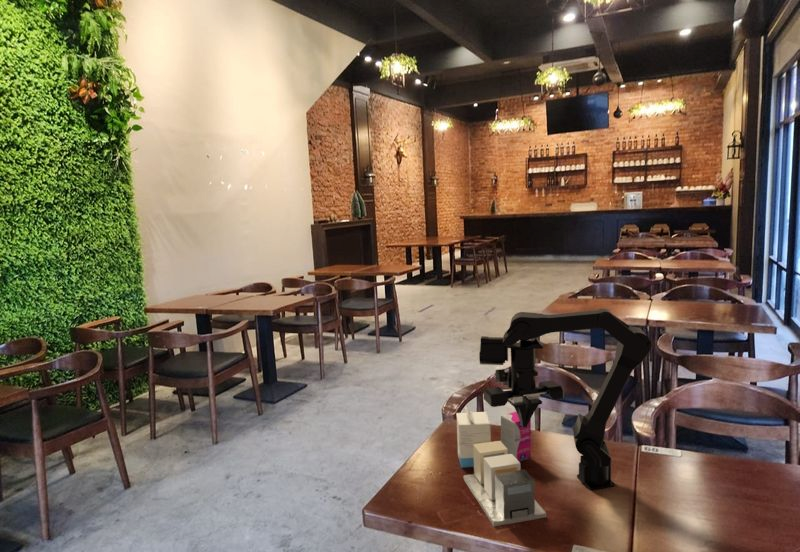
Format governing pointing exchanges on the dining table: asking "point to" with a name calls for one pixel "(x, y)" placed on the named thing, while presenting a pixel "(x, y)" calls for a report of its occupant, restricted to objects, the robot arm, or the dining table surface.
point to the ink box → (471, 434)
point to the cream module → (497, 470)
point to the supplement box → (516, 436)
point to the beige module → (486, 451)
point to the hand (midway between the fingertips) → (524, 426)
